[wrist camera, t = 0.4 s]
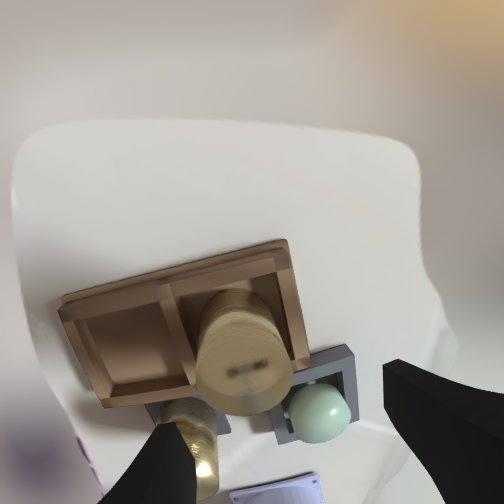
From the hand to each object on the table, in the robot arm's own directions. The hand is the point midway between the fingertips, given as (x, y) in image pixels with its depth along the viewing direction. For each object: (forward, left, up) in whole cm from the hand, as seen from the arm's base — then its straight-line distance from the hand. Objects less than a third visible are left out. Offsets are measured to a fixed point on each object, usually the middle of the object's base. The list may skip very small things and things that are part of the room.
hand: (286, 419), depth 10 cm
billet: (-6, +6, -9) cm, 13 cm away
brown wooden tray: (0, +4, -10) cm, 10 cm away
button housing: (-7, -2, -10) cm, 12 cm away
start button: (-7, -2, -8) cm, 11 cm away
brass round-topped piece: (0, +1, -9) cm, 9 cm away
